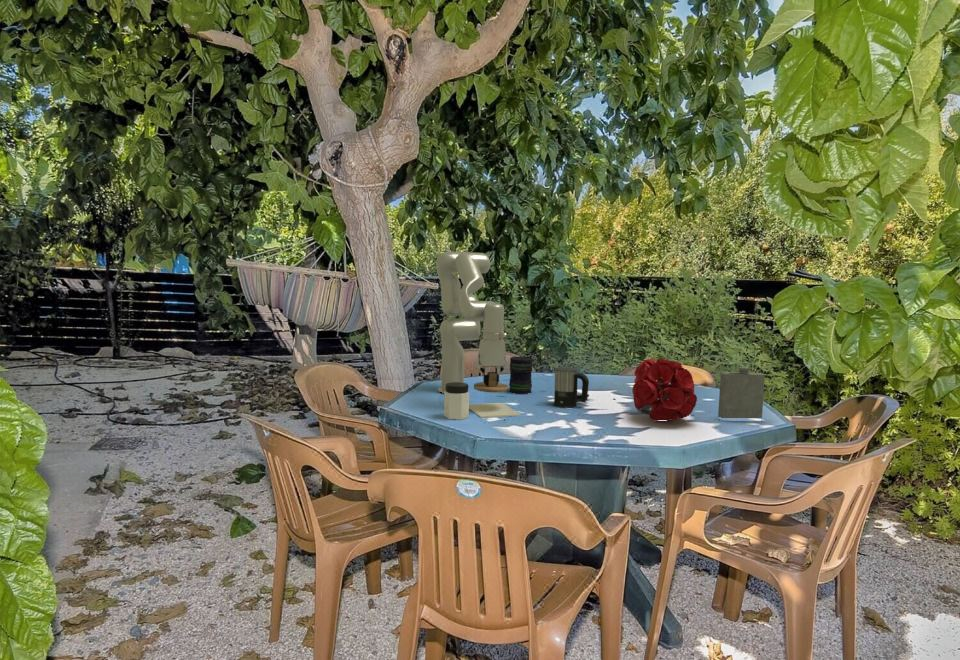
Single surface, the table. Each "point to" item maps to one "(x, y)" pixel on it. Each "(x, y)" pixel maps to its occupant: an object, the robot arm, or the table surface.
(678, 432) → the table surface
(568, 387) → the milk frother
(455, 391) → the jar
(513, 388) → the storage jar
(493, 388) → the lid
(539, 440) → the table surface
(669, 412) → the bouquet
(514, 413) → the placemat
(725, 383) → the hip flask
